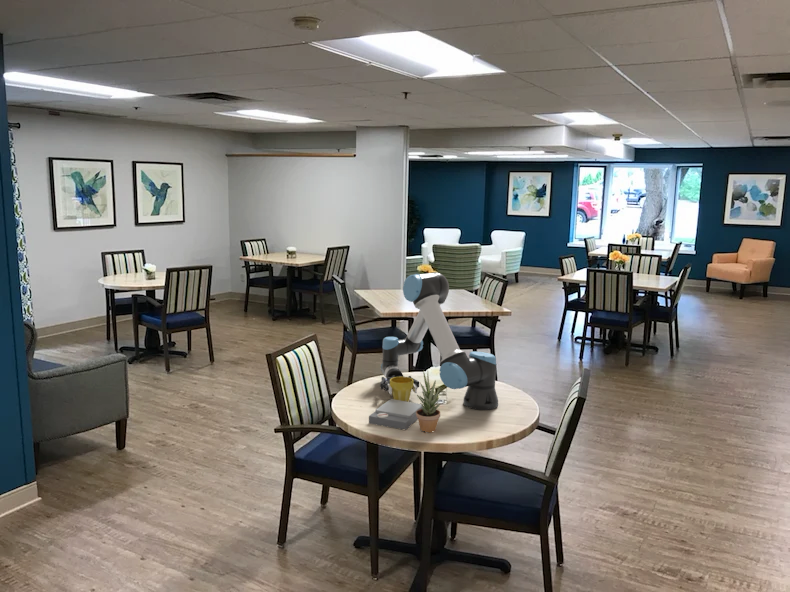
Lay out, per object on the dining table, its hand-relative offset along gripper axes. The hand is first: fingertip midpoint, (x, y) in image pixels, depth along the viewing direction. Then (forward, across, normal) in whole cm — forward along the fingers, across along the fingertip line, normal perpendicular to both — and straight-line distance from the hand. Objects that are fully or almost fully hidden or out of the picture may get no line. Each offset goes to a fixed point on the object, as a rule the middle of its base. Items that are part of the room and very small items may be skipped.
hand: (403, 390), depth 273 cm
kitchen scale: (+13, +5, -7) cm, 16 cm away
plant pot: (-4, 0, -6) cm, 8 cm away
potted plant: (+28, -4, -7) cm, 29 cm away
